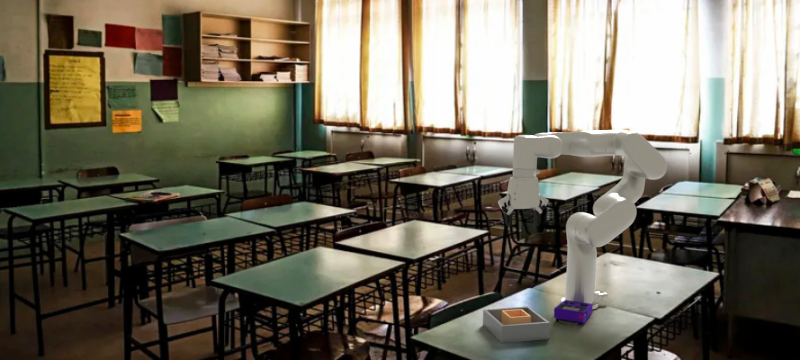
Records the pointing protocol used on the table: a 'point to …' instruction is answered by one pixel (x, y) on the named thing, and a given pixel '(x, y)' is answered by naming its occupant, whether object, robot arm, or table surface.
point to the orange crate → (515, 317)
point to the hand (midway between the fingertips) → (522, 225)
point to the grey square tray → (516, 326)
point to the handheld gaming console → (573, 312)
